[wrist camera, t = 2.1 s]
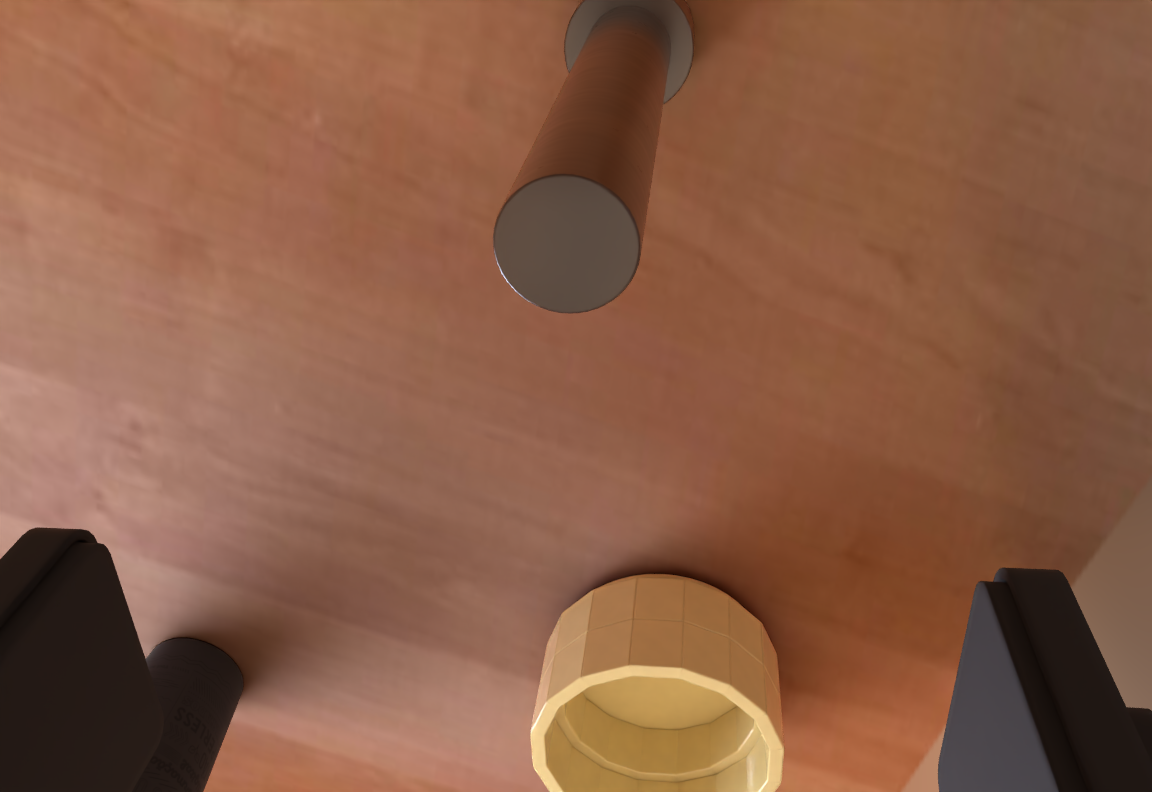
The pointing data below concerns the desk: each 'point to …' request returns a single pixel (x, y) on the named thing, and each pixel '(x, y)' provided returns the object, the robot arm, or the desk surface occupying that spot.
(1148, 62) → the desk surface
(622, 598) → the bowl
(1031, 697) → the robot arm
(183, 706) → the drinking cup
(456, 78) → the desk surface
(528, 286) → the stirrer
